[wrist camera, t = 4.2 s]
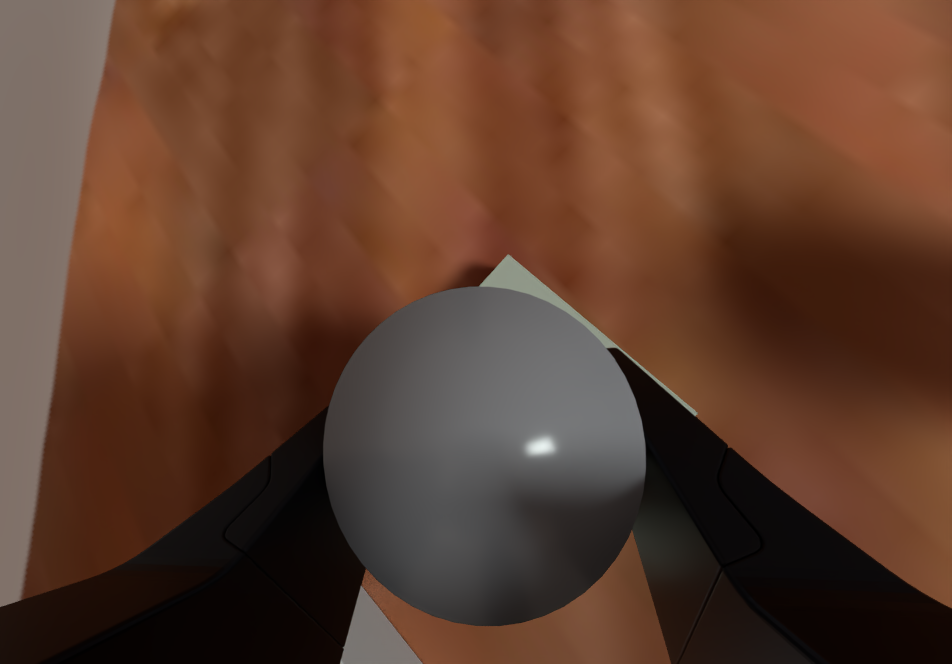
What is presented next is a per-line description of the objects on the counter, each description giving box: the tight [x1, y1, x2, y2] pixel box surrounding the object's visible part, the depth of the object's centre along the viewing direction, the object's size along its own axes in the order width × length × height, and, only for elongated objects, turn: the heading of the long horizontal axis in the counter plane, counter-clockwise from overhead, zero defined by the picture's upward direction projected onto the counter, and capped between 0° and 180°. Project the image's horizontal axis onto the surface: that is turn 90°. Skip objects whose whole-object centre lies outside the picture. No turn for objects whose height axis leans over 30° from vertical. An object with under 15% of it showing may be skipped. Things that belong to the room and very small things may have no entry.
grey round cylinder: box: [323, 287, 646, 626], centre depth 11 cm, size 5×5×10 cm
